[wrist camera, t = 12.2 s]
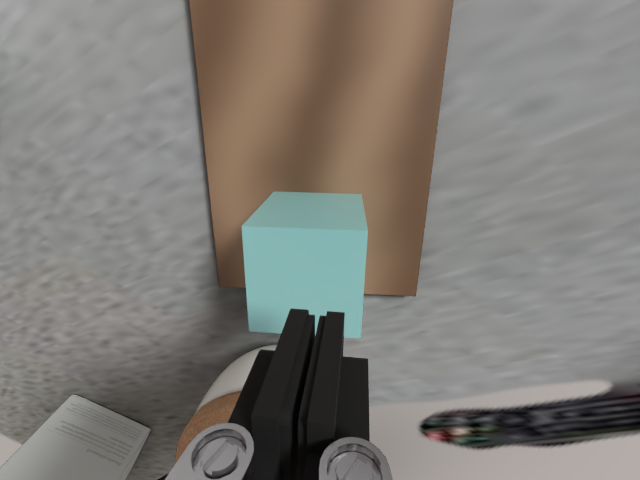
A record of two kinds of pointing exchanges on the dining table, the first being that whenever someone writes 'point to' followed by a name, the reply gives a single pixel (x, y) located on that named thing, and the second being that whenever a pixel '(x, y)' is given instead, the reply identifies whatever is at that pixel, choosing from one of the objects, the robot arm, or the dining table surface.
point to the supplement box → (78, 445)
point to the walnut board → (323, 117)
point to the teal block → (305, 259)
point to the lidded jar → (219, 399)
